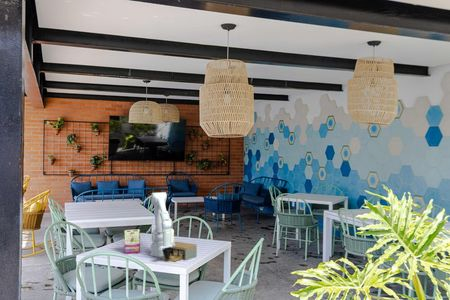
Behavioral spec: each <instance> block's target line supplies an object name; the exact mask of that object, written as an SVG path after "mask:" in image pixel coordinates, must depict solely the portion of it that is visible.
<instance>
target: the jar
mask: <svg viewBox="0 0 450 300" xmlns="http://www.w3.org/2000/svg"><path fill="white" fill-rule="evenodd" d="M160 233H162V232H160ZM173 242H175V230H174V229H173V227H172V229H171V243H173Z"/></svg>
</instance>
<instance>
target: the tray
mask: <svg viewBox="0 0 450 300" xmlns="http://www.w3.org/2000/svg"><path fill="white" fill-rule="evenodd" d="M181 260H185V253H184V250H179V249H173V253H172V254H170V257H169V259H168V260H167V259H165V256H162V261H167V262H173V263H176V262H178V261H181Z"/></svg>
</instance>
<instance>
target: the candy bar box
mask: <svg viewBox="0 0 450 300" xmlns="http://www.w3.org/2000/svg"><path fill="white" fill-rule="evenodd" d="M123 238H124V239H123V240H124V241H123V242H124V243H123V246H124V247H123V249H124V250H123V251H124V255H126V254H127V255H129V254H140V253H141V229H139V228H138V229H135V228H134V229H124V231H123Z"/></svg>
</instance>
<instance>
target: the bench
mask: <svg viewBox="0 0 450 300" xmlns="http://www.w3.org/2000/svg"><path fill="white" fill-rule="evenodd" d="M173 243H175V246H173V247H171V248H172V251H171V253H170V254H172V253H173V249H179V250H184V253H185V259H184V261H189V260H191V259H193V258H197V256H198V255H197V253H198V251H197V250H198V248H197V246H198V245H197V244H195V243H188V242H181V241H174V242H173Z"/></svg>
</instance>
